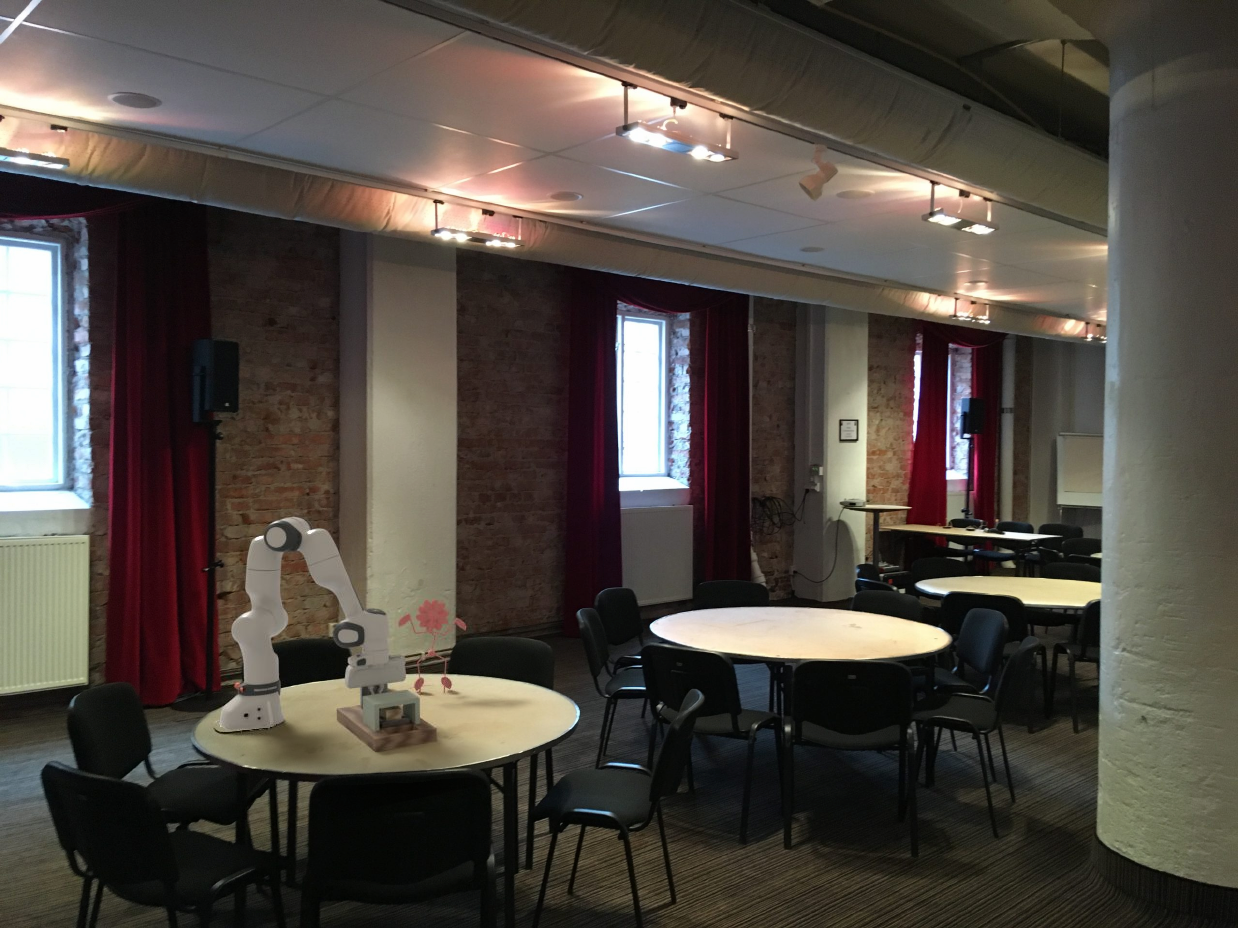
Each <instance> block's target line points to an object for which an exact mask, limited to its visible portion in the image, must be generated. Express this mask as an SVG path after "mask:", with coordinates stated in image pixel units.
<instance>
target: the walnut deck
mask: <svg viewBox="0 0 1238 928" xmlns="http://www.w3.org/2000/svg"><path fill="white" fill-rule="evenodd" d="M398 706H399V707H400V708H401V713H403V705H398ZM379 715H380V714H379ZM336 721H337V722H338V723H340V724H341V725H342V726H343V727H344V728H346V730H348V731H349V732H351V734H353V735H354V736H355V737H357V738H358V739H359V740H360V741H362V742H363V743H364V744H365V745H367V747H369V748H370V749H371V750H372V751H374V752H375V753H377V752H383V751H389V750H394V749H400V748H405V747H410V746H415V745H416V746H417V745H421V744H426V743H432V742H437V741H438V736H437V735H438V734H437V733H438V732H437V731H438V729H437V727H435V725H432V724H431V723H429V722H428V721H426V720H424V719H423V718H421V717H420V724H414V723H413V722H411V721H410V723H407V724H401V725H395V726H389V727H383V728H382V727H381V726H380V725H379V731H374V730H372V729H371V728H370V727H369V726H367V725H366V724H365V723H363V709H361V705H360V704H359V705H351V706H345V707H344V706H343V707H339V708H336Z"/></svg>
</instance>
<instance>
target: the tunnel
mask: <svg viewBox="0 0 1238 928" xmlns="http://www.w3.org/2000/svg"><path fill="white" fill-rule="evenodd" d="M398 705H402V706H403V714H404V715H406V716H407V717H409V719H410V721H411V722H413V723H414V724H420V718H421V697H419V696H418V695H416V694H414V693H413V692H411V691H410V690H409V689H403V690H394V691H389V692H388V693H381V694H374V695H368V696H363V723H365V724H366V725H367V726H369V727H370V728H371V729H372V730H374V731H379V708H386V707H392V706H398Z"/></svg>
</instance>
